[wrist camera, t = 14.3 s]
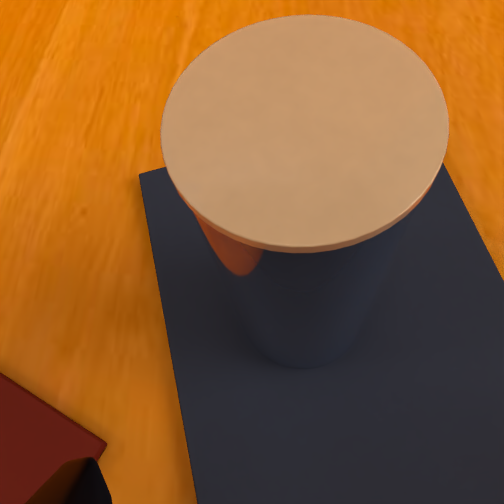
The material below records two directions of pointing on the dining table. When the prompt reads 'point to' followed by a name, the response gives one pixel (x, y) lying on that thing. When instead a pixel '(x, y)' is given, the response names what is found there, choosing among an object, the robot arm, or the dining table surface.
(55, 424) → the red mat
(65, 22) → the dining table surface
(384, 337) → the blue mat
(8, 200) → the dining table surface
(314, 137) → the blue canister
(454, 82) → the dining table surface
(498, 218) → the dining table surface
